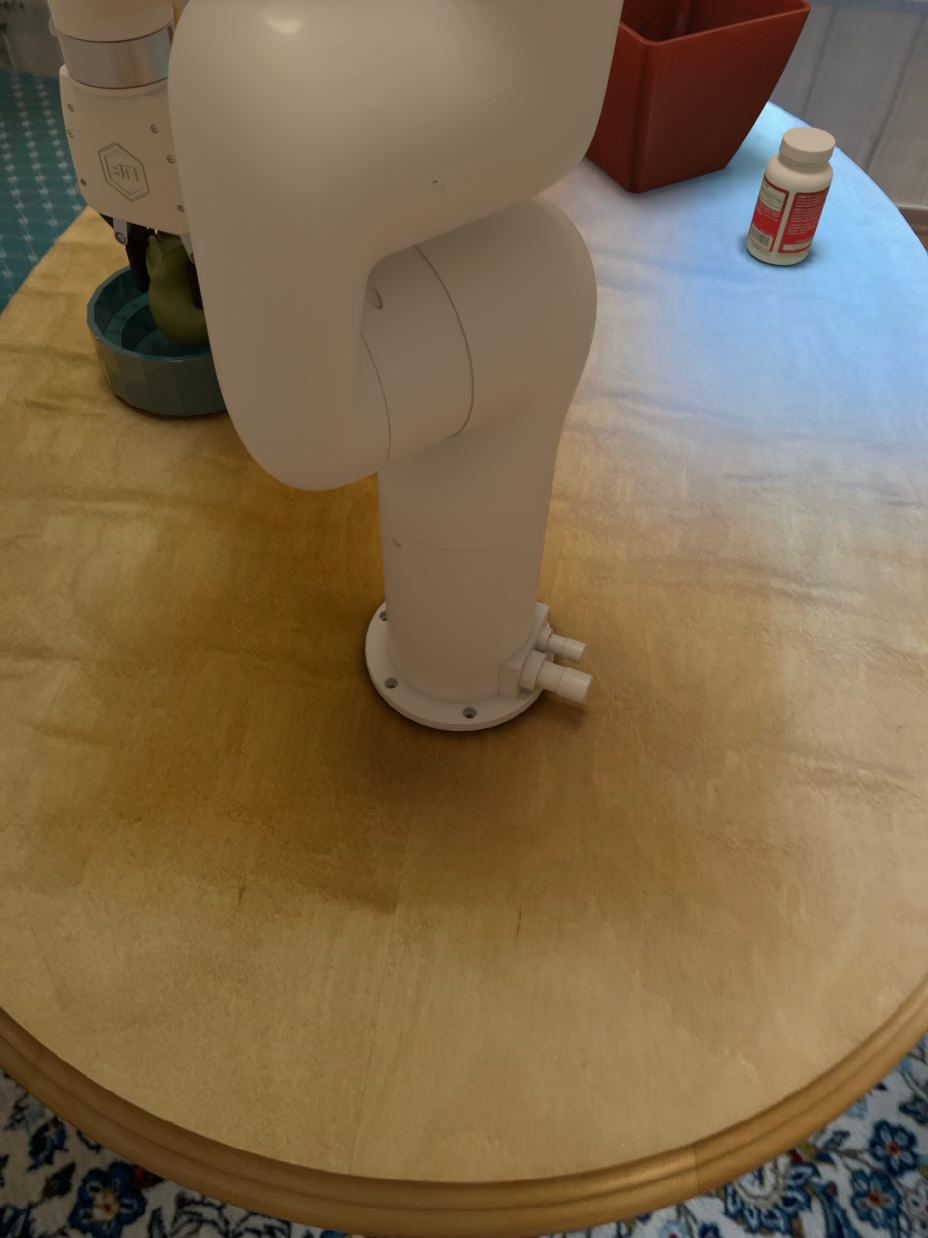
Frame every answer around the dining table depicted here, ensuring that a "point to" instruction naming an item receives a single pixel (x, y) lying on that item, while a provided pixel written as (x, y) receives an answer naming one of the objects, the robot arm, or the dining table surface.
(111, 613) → the dining table surface
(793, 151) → the pill bottle
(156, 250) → the pear
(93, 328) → the bowl
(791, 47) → the flower pot
